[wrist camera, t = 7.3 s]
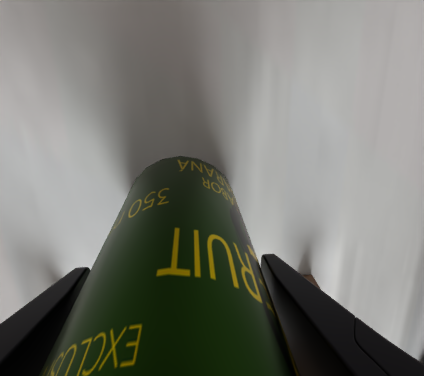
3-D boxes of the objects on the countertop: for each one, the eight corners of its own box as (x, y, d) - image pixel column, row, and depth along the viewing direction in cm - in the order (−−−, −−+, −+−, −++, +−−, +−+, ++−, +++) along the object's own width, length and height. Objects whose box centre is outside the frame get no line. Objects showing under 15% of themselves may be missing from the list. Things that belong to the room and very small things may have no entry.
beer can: (194, 256, 16) (208, 674, 5) (112, 212, 14) (-146, 688, 3) (252, 188, 14) (460, 572, 3) (167, 130, 13) (31, 502, 2)
